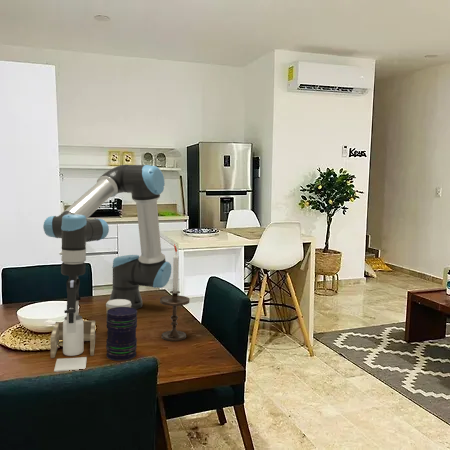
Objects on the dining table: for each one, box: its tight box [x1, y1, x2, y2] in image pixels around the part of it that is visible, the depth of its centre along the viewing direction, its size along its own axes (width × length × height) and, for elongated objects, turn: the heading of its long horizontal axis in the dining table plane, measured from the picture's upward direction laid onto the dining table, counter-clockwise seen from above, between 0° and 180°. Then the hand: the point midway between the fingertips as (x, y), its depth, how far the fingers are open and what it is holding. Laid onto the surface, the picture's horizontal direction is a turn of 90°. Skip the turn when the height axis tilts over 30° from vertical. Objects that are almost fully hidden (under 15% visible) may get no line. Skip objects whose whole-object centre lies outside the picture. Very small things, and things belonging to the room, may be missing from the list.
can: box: [62, 314, 85, 357], centre depth 151 cm, size 6×6×12 cm
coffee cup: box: [105, 299, 132, 313], centre depth 171 cm, size 9×9×12 cm
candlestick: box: [159, 243, 191, 342], centre depth 168 cm, size 11×11×35 cm
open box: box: [50, 320, 96, 359], centre depth 155 cm, size 15×13×7 cm
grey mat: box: [53, 356, 88, 373], centre depth 142 cm, size 9×9×1 cm
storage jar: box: [105, 307, 138, 362], centre depth 150 cm, size 10×10×15 cm
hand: (72, 325), depth 150 cm, fingers open, 13 cm apart
